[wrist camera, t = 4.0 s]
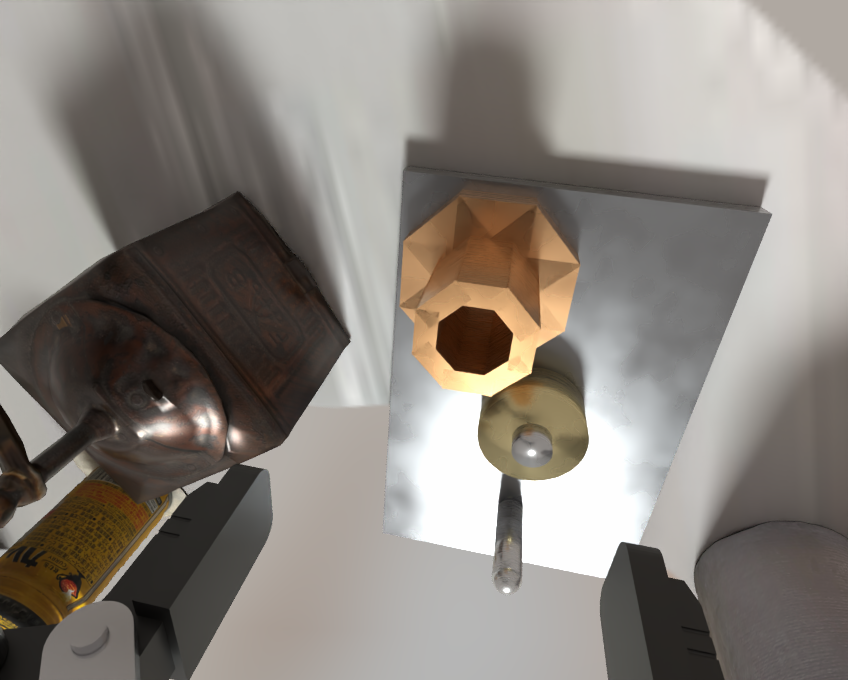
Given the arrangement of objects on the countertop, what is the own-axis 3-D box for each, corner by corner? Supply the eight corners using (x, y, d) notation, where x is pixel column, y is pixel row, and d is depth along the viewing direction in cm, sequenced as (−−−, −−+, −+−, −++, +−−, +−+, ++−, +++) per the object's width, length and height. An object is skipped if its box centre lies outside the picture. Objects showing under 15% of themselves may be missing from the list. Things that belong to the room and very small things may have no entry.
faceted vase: (412, 182, 24) (372, 222, 18) (589, 203, 23) (610, 253, 17) (402, 334, 28) (366, 410, 22) (554, 358, 27) (560, 444, 21)
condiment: (132, 524, 42) (1, 675, 32) (62, 445, 39) (-107, 582, 29) (198, 507, 40) (80, 664, 29) (129, 421, 37) (-30, 562, 26)
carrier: (408, 166, 25) (369, 199, 19) (761, 207, 23) (843, 258, 17) (387, 519, 36) (358, 610, 30) (620, 566, 35) (639, 673, 28)
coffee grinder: (365, 340, 30) (184, 640, 14) (232, 406, 34) (-19, 693, 19) (187, 86, 25) (-377, 121, 10) (58, 199, 29) (-480, 353, 14)
